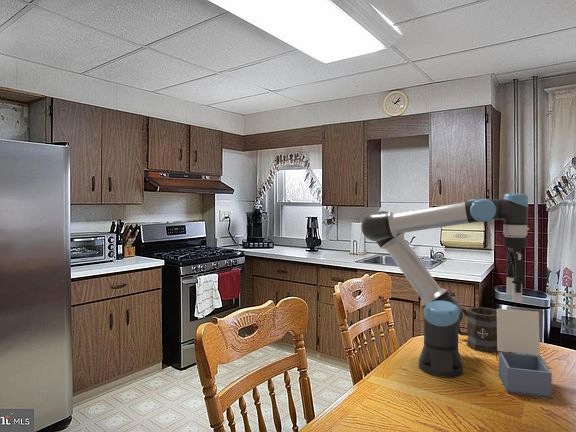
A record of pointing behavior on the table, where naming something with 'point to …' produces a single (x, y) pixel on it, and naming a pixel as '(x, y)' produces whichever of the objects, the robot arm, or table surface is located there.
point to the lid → (518, 331)
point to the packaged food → (532, 355)
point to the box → (524, 375)
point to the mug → (481, 329)
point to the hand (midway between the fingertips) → (513, 298)
